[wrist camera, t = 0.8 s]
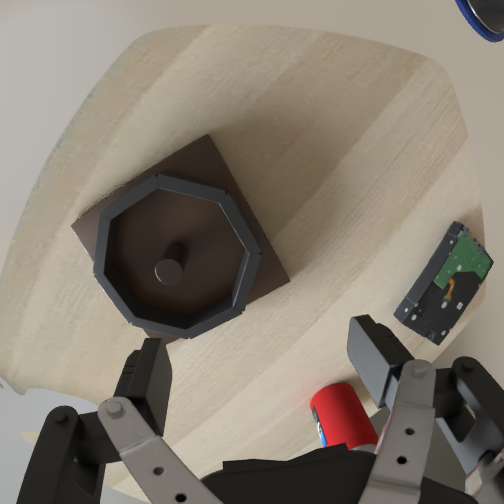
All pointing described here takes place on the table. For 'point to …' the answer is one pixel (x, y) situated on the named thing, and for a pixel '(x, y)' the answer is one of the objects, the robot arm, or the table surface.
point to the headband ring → (160, 317)
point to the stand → (183, 239)
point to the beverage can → (343, 418)
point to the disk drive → (445, 285)
